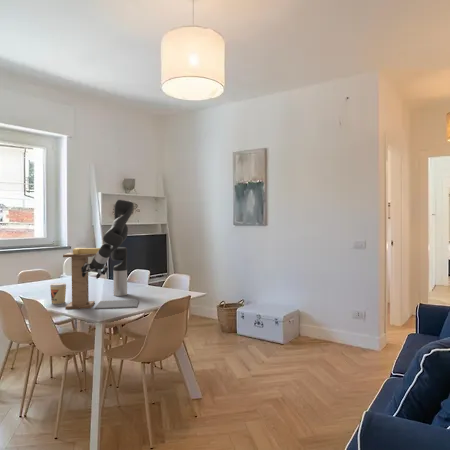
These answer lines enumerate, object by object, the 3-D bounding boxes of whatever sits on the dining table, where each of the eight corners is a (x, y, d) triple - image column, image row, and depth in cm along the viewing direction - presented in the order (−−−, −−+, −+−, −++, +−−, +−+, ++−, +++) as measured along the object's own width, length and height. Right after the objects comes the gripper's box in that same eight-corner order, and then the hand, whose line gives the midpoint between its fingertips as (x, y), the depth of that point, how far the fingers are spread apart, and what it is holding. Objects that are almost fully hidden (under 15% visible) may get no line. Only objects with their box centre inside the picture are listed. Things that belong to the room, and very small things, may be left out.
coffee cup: (47, 303, 246) (47, 284, 246) (60, 300, 254) (60, 282, 254) (56, 305, 241) (55, 285, 241) (69, 302, 249) (69, 283, 249)
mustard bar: (76, 252, 241) (76, 248, 241) (110, 252, 244) (110, 247, 244) (72, 254, 231) (72, 249, 231) (107, 253, 234) (107, 248, 234)
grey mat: (100, 302, 249) (100, 300, 249) (138, 300, 252) (138, 299, 252) (94, 309, 229) (94, 307, 229) (136, 307, 232) (136, 306, 232)
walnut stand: (69, 304, 243) (68, 252, 242) (96, 303, 245) (95, 252, 245) (63, 309, 229) (63, 254, 229) (92, 308, 231) (91, 254, 231)
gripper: (111, 255, 234) (100, 273, 241) (88, 252, 225) (77, 270, 233) (113, 265, 229) (102, 283, 237) (89, 261, 221) (78, 280, 228)
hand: (89, 276), depth 235 cm, fingers open, 8 cm apart
